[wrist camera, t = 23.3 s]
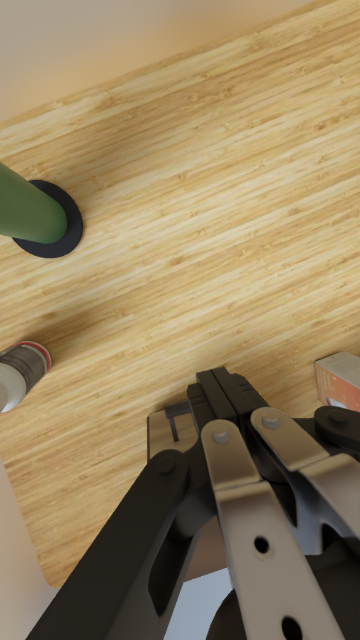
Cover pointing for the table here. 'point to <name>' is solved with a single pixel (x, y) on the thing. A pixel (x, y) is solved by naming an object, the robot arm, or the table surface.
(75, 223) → the coaster
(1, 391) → the pill bottle
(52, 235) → the tin
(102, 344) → the table surface
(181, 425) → the drawer
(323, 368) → the small box
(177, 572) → the robot arm
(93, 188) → the table surface
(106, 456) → the table surface
